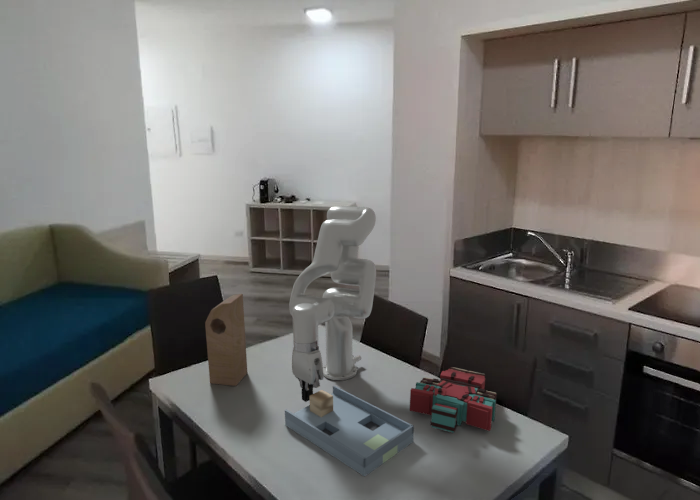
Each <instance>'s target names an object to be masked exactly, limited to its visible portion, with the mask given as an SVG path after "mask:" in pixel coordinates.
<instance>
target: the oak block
mask: <svg viewBox="0 0 700 500" xmlns="http://www.w3.org/2000/svg"><path fill="white" fill-rule="evenodd" d="M331 394H332V393H329V392H327V391H325V390H323V389H320V390H318V391H316V392H313V394H312V395H310V396H309V397H310V400H309V405H310V411H311V412H313V413H315V414H316V415H318V416H320V417H323V416H324V415H326V414H328V413H330V412H332V411H333V395H331Z"/></svg>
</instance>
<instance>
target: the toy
mask: <svg viewBox="0 0 700 500" xmlns="http://www.w3.org/2000/svg"><path fill="white" fill-rule="evenodd" d="M485 385H486V374H485V373H481V372H478V371H472V370H467V369H463V368H458V367H453V366H450V367H449V368H448V369H445V370H442V371H441V373H440V376H439V378H430V377H427V376H426V377H422V378H421V380H420V381H419V382H416V383H415V388H413V387H411V389H410V391H409V392H410V393H409V411H410V412H414V413H419V414H423V415H428V416H431V420H430V421H429V422H430V423H429V424H430V427H431V428H433V429H436V430H439V431H445V432H447V433H451V434H454V433H455V432H456V430H457V427H458V426H460V427H461V425H462V422H464V423H465V425H468V426H472V427H475V428H479V429H482V430H484V431H487V432H488V431H489V432H490V431H491V430H492V422H494V421H495V415H496V408H497V407H496V406H497V395H498V394H497V392H494V391H488V390H486V389H485V387H486V386H485Z"/></svg>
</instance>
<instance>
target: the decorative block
mask: <svg viewBox="0 0 700 500" xmlns="http://www.w3.org/2000/svg"><path fill="white" fill-rule="evenodd" d="M244 309H245V308H244V296H243V293H238V294H233V295H231V296H229V297H227V298H226V299H224V300H223V301H222V302H220V303H219V304H217V305H216V306H215V307H213V308H211V310H210V311H209V314H208V315H207V318H206V320H205V321H204V324H205V326H204V327H205V338H206V349H207V351H206V352H207V362H208V373H209V374H208V376H209V377H208V378H209V384H213V385H224V386H233V387H237V386H238V384H239V383H240V382H241V381H242V380H243V379H244V377H245V376H246V375H248V359H247V345H246V343H247V342H246V340H247V339H246V329H245V328H246V327H245V326H246V325H245V310H244Z"/></svg>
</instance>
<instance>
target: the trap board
mask: <svg viewBox="0 0 700 500" xmlns="http://www.w3.org/2000/svg"><path fill="white" fill-rule="evenodd" d="M330 394H331V395H333V411H332V412H330V413H328V414H326V415H324V416H323V417H320V416H318V415H316V414H315V413H313V412H311V411H310V404H309V405H307V406H306V407H303V408H300V409H298V410H297V411H296V412H292V411H290V410H288V409H284V421H285V422H284V423H285V426H286V427H287V428H289V429H291V430H292V431H294V432H295V433H296V434H298V435H300V436H301V437H302V438H304V439H306V440H308V441H309V442H310V443H312V444H314V445H315V446H317V447H318V448H320V449H321V450H323V451H324V452H326V453H327V454H329V455H331V456H332V457H334V458H335V459H337V460H339V461H340V462H341V463H343V464H344V465H346V466H348V467H349V468H350V469H352V470H353V471H355V472H357V473H359V474H360V475H361V476H363V477H366V476H367V475H369V474H370V473H371V472H373V471H375V470H376V469H377V468H380V466H382V465H383V464H384V463H385V462H387V461H388V460H391V458H392V457H394V456H395V455H397V454H398V453H400V452H401V451H403V450H404V449H405V448H407V447H408V446H410V444H412V443H414V431H415V430H414V429H415V428H414V425H413V424H412V423H409V422H407V421H405V420H403V419H402V418H399V417H397V416H396V415H394V414H391V413H390V412H388V411H386V410H384V409H381V408H380V407H378V406H375V405H373V404H372V403H370V402H368V401H366V400H364V399H362V398H360V397H357V396H356V395H354V394H352V393H350V392H348V391H346V390H344V389H342V388H340V387H338V386H336V385H333V386H332V393H330Z"/></svg>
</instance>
